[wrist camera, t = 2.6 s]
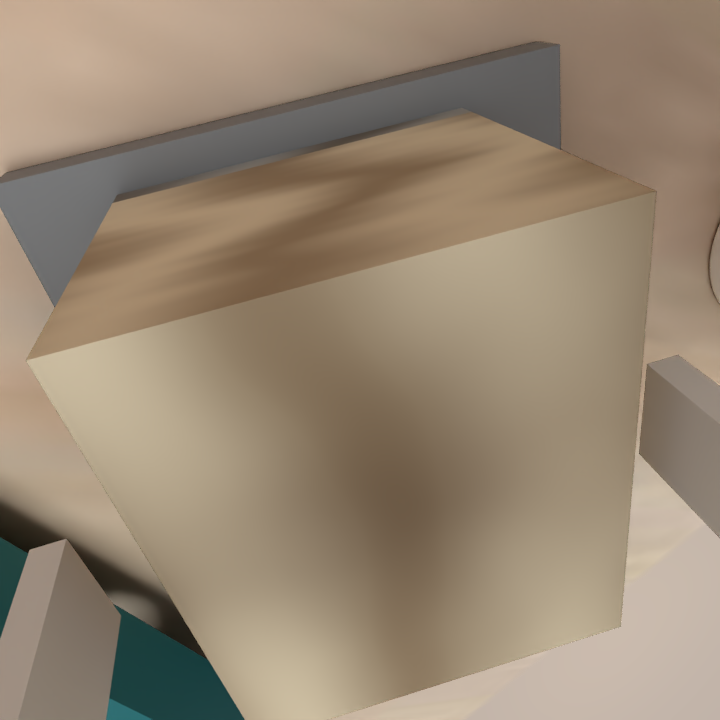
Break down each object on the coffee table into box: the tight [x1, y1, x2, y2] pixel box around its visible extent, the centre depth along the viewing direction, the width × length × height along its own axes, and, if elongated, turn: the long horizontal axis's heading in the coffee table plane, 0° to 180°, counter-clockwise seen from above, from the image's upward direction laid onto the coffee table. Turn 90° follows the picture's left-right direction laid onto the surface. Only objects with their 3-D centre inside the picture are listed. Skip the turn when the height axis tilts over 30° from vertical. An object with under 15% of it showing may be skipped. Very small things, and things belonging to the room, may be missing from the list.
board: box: [0, 42, 561, 307], centre depth 24 cm, size 16×28×2 cm, turn 11°
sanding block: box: [26, 108, 657, 720], centre depth 16 cm, size 10×12×9 cm
